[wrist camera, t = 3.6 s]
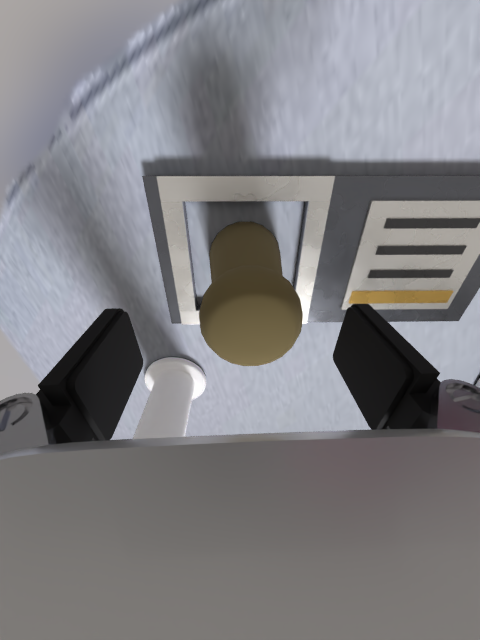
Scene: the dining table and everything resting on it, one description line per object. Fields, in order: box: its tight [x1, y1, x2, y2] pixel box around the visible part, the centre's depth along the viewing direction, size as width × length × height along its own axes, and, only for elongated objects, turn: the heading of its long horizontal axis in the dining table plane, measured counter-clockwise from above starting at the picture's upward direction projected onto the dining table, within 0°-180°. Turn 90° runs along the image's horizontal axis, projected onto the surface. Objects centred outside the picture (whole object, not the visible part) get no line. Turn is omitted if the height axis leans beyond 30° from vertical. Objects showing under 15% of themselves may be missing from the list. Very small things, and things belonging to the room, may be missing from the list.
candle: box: [133, 357, 206, 439], centre depth 17 cm, size 7×7×25 cm
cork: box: [199, 222, 303, 366], centre depth 15 cm, size 6×6×11 cm
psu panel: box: [142, 176, 480, 325], centre depth 19 cm, size 28×12×1 cm, turn 90°
